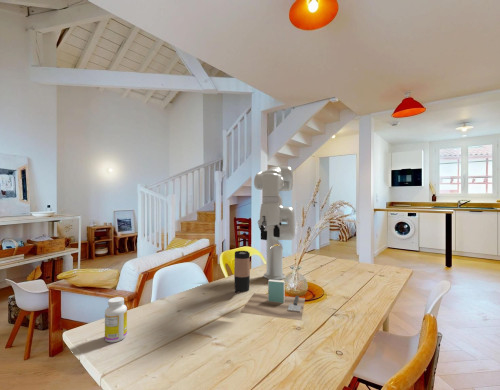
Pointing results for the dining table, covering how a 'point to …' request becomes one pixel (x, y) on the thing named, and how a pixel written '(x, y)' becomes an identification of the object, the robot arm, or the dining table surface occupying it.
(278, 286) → the tile
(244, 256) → the travel mug
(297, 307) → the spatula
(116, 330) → the supplement bottle
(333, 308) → the dining table surface
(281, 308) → the board
